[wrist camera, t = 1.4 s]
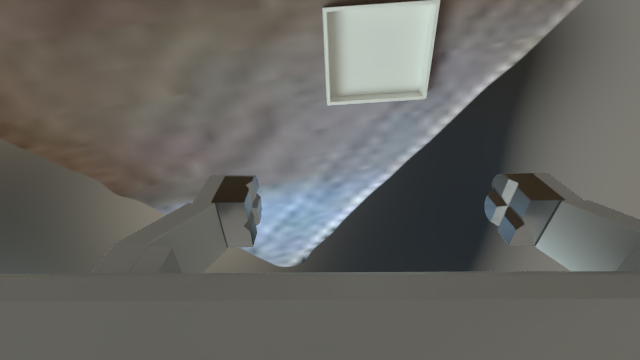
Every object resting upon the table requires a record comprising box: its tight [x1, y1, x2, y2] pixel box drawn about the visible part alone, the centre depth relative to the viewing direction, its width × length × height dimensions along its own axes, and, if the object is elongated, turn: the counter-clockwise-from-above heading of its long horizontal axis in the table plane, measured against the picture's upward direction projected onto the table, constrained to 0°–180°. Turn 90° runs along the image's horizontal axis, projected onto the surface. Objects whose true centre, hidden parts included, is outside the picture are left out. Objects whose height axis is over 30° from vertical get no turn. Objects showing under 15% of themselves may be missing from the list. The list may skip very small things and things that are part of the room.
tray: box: [322, 0, 440, 105], centre depth 35 cm, size 13×11×2 cm
